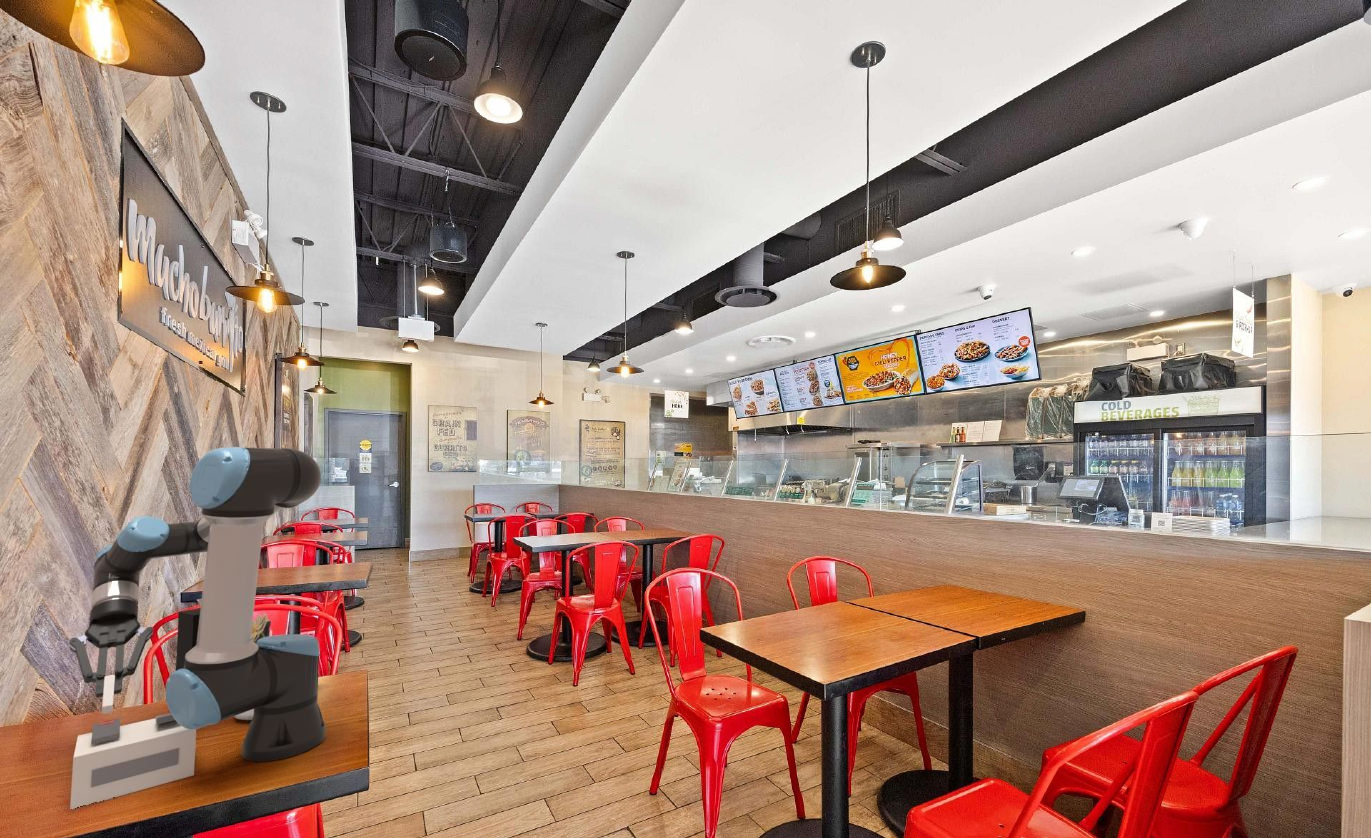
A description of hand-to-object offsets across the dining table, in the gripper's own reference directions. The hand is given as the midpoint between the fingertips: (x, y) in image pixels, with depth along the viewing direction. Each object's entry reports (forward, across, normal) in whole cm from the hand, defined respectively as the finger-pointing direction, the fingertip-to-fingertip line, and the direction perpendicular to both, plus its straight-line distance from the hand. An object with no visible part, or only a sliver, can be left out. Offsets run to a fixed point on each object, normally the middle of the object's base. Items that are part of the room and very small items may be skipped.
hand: (107, 709), depth 116 cm
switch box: (+12, -4, -8) cm, 15 cm away
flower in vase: (-1, -27, -21) cm, 34 cm away
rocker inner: (+4, -9, 0) cm, 10 cm away
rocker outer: (+4, 0, 0) cm, 4 cm away
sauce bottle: (-12, -28, -31) cm, 44 cm away
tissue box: (-12, -16, -31) cm, 37 cm away
